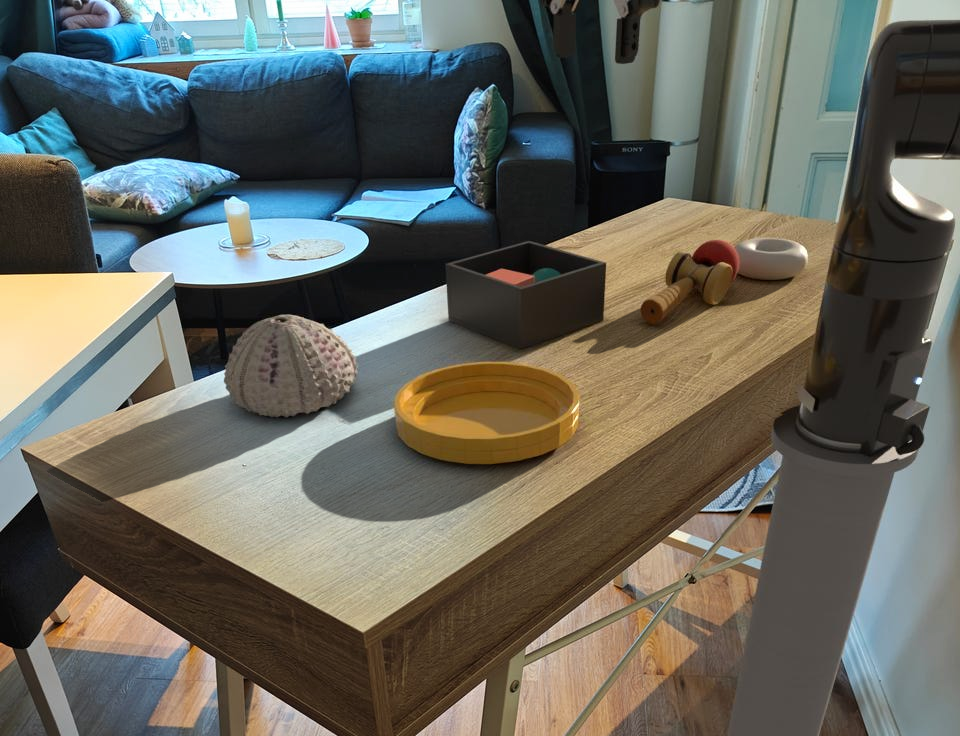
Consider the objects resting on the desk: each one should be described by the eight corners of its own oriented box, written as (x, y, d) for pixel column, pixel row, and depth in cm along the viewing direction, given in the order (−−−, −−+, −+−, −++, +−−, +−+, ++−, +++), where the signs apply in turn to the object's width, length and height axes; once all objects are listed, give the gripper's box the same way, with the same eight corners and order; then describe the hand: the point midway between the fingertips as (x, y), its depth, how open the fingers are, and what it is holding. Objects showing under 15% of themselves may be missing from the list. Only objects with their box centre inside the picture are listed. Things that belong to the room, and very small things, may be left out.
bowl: (616, 428, 84) (618, 397, 82) (475, 490, 75) (473, 458, 74) (497, 376, 94) (496, 348, 92) (361, 425, 86) (358, 396, 84)
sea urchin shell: (386, 394, 91) (377, 316, 86) (276, 439, 84) (260, 356, 79) (309, 362, 99) (298, 288, 94) (202, 400, 92) (184, 322, 87)
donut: (731, 259, 123) (723, 280, 116) (735, 233, 121) (727, 252, 114) (807, 264, 121) (803, 285, 113) (812, 237, 119) (809, 257, 111)
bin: (603, 320, 106) (606, 262, 102) (521, 349, 100) (520, 289, 96) (529, 295, 114) (529, 240, 110) (448, 320, 108) (445, 263, 104)
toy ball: (559, 324, 108) (582, 287, 106) (537, 318, 104) (561, 279, 102) (532, 301, 110) (554, 264, 107) (510, 294, 106) (532, 255, 103)
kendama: (686, 342, 103) (756, 279, 112) (679, 288, 99) (753, 227, 108) (629, 340, 108) (701, 280, 117) (620, 289, 104) (696, 230, 113)
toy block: (534, 275, 102) (506, 287, 100) (534, 319, 106) (507, 331, 103) (501, 268, 105) (473, 279, 102) (502, 310, 108) (475, 322, 105)
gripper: (519, -146, 84) (520, 59, 94) (632, -159, 75) (620, 69, 85) (576, -146, 87) (571, 52, 97) (690, -158, 78) (672, 61, 89)
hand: (594, 60), depth 91 cm, fingers open, 8 cm apart
